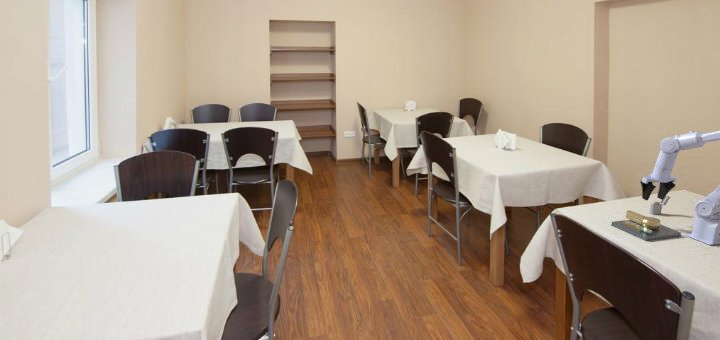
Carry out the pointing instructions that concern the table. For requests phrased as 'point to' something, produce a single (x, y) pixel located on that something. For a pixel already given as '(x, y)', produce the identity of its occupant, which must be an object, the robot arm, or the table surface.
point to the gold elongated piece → (644, 220)
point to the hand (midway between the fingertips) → (652, 198)
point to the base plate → (643, 235)
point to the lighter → (658, 206)
